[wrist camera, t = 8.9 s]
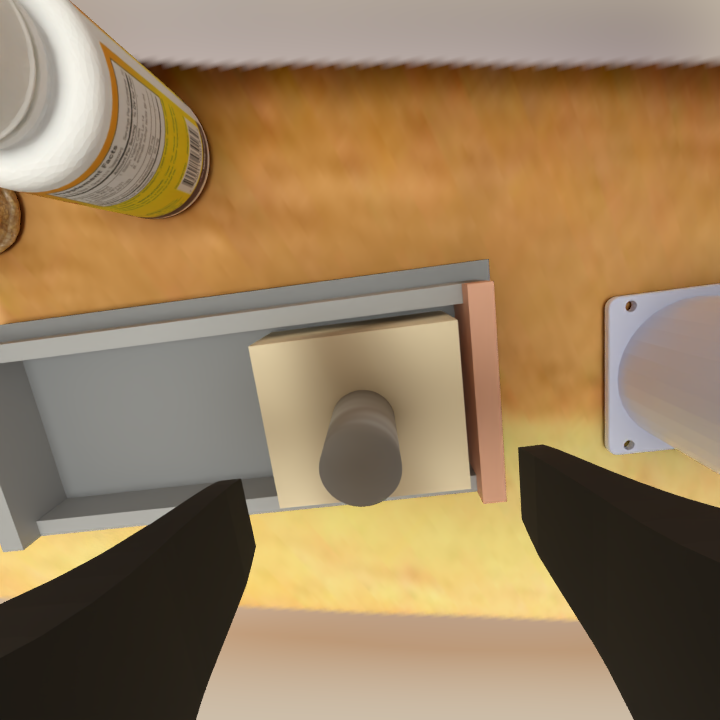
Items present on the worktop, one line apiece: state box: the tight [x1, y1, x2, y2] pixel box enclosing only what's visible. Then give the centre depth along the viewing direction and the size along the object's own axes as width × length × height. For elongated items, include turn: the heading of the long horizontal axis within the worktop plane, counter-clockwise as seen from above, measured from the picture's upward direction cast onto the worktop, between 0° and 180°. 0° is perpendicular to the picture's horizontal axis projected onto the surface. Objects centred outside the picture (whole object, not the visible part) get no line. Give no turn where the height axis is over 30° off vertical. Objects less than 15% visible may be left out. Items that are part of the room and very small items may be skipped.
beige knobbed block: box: [248, 311, 471, 509], centre depth 16 cm, size 8×7×8 cm
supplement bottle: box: [0, 0, 209, 219], centre depth 13 cm, size 6×6×10 cm
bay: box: [0, 259, 507, 552], centre depth 19 cm, size 24×11×4 cm, turn 98°
